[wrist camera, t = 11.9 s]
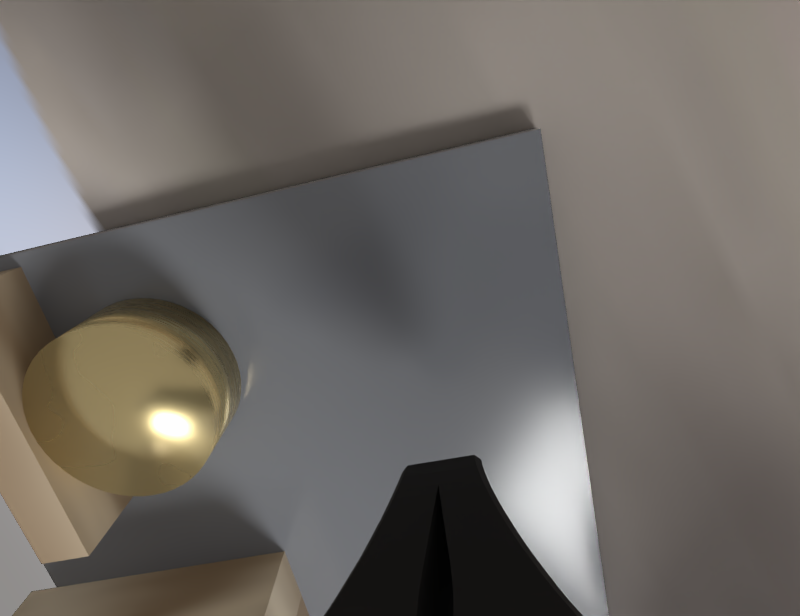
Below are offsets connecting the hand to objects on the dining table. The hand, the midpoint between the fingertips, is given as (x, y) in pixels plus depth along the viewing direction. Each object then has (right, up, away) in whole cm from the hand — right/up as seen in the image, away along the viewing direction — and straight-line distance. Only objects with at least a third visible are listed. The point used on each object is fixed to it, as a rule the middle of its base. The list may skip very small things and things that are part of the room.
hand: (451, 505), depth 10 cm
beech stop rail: (-9, +1, +3) cm, 10 cm away
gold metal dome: (-7, +2, +3) cm, 8 cm away
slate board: (-3, -2, +5) cm, 6 cm away
